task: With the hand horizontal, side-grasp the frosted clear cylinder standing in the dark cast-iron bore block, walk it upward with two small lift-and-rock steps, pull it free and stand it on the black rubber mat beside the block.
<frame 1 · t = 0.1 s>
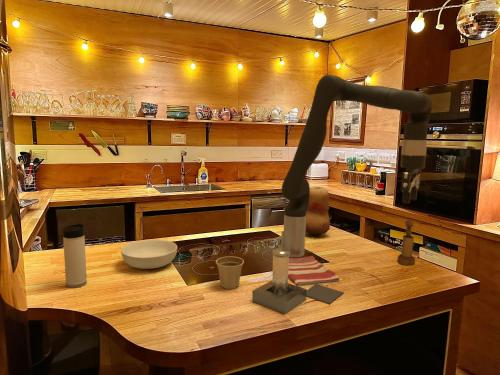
hand: (409, 201, 123), 29 cm above the worktop, tool pointing down, fingers open, 8 cm apart
butternut squash: (315, 235, 184), on the worktop
travel mug: (76, 284, 121), on the worktop
serving bowl: (150, 265, 140), on the worktop
dish towel: (305, 273, 136), on the worktop
bore block: (279, 300, 112), on the worktop
pepper mill: (405, 263, 148), on the worktop
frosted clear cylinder: (280, 276, 111), in the bore block
flower pot: (229, 286, 122), on the worktop
rubber mat: (322, 294, 117), on the worktop
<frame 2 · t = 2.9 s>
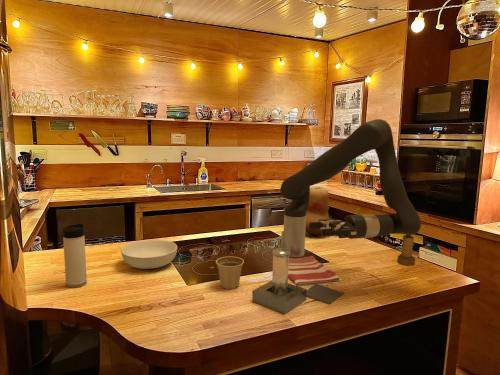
hand: (315, 229, 112), 22 cm above the worktop, tool horizontal, fingers open, 8 cm apart
nothing on the worktop moved.
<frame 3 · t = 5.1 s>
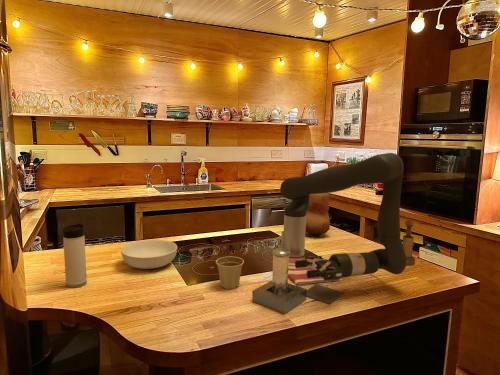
hand: (300, 269, 112), 10 cm above the worktop, tool horizontal, fingers open, 8 cm apart
nothing on the worktop moved.
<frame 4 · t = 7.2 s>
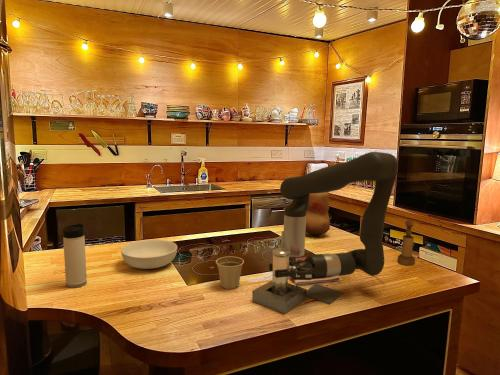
hand: (272, 270, 110), 10 cm above the worktop, tool horizontal, fingers closed on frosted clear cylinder, 4 cm apart
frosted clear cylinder: (280, 276, 111), in the bore block, touching gripper
everything else where it was.
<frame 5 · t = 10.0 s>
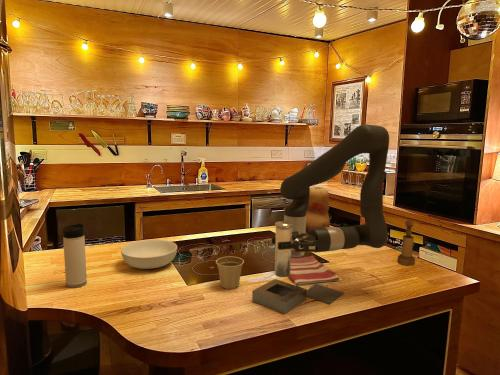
hand: (275, 243, 109), 19 cm above the worktop, tool horizontal, fingers closed on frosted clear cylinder, 4 cm apart
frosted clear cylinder: (283, 249, 110), point 17 cm above the worktop, touching gripper
everything else where it was.
when the fingers open (12 cm above the worktop, at t = 12.9 s): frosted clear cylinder drops 1 cm, resting on rubber mat.
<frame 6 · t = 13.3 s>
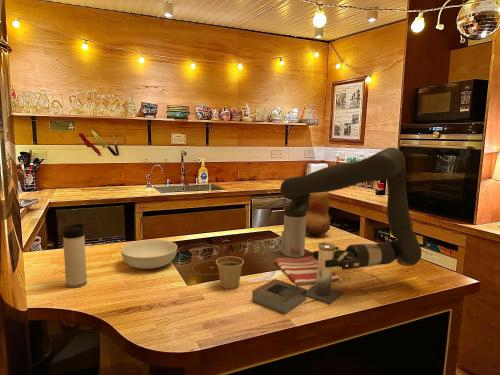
hand: (319, 259, 115), 12 cm above the worktop, tool horizontal, fingers open, 8 cm apart
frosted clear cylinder: (324, 269, 116), on the rubber mat
everything else where it was.
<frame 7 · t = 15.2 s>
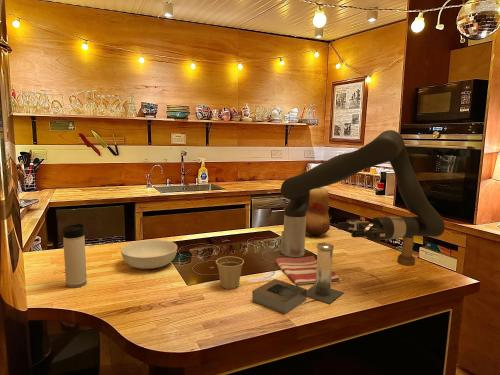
hand: (344, 229, 116), 21 cm above the worktop, tool horizontal, fingers open, 8 cm apart
nothing on the worktop moved.
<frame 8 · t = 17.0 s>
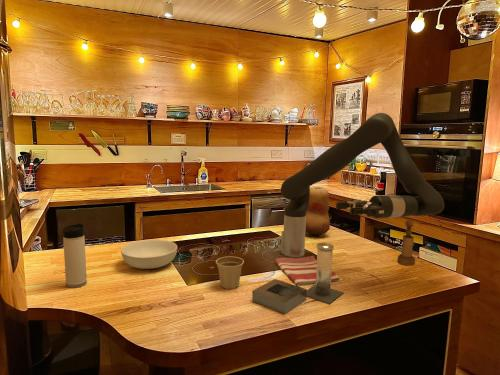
hand: (343, 208, 115), 28 cm above the worktop, tool horizontal, fingers open, 8 cm apart
nothing on the worktop moved.
at the end: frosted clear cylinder inside the target area on the rubber mat (0.1 cm from its centre), point 8.4 cm above the rubber mat's base; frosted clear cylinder tilted 0°; the gripper is holding nothing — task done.
